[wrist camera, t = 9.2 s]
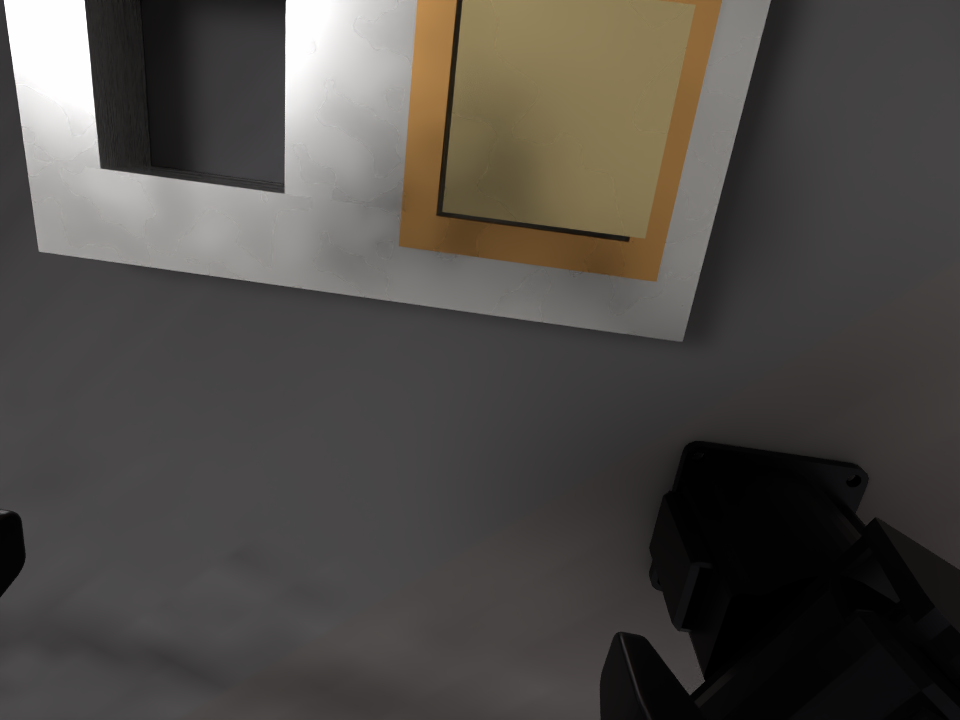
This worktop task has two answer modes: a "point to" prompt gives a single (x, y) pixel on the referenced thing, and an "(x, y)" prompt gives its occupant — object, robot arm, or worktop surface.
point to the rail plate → (363, 168)
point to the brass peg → (564, 110)
